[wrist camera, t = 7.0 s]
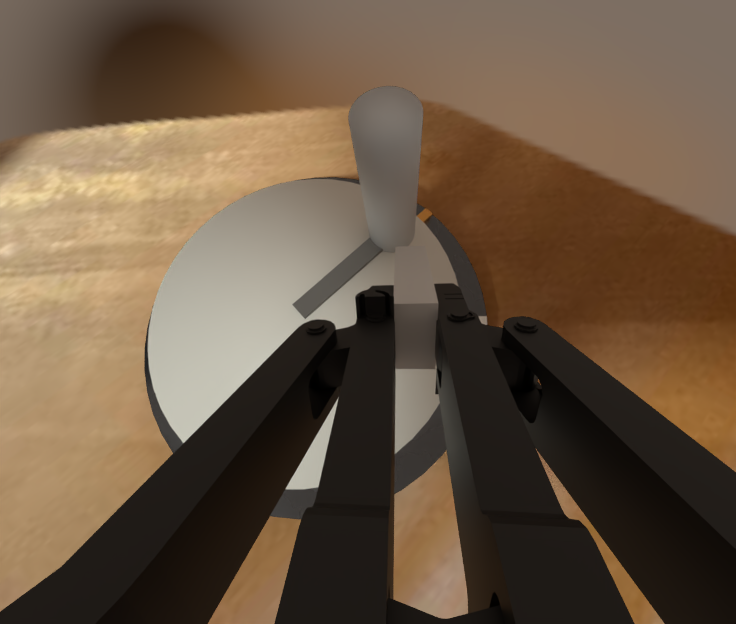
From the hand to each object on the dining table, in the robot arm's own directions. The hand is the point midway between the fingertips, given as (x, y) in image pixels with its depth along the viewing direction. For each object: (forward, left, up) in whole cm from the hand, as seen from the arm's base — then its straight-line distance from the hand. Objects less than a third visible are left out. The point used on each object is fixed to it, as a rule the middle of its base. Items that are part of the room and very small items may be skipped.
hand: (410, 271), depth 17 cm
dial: (-5, -4, -5) cm, 9 cm away
